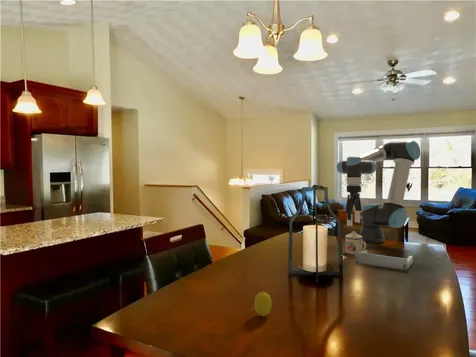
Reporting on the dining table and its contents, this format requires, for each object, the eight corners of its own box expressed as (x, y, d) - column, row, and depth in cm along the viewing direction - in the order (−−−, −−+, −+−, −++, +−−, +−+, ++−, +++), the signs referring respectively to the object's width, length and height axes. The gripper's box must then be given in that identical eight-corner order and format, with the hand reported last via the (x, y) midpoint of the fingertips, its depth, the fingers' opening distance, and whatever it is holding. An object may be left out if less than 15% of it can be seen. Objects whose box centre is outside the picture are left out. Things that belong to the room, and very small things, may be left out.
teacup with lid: (341, 252, 188) (341, 231, 188) (351, 249, 193) (351, 229, 193) (360, 256, 178) (360, 234, 178) (370, 254, 183) (370, 232, 183)
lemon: (260, 311, 112) (260, 287, 112) (275, 315, 109) (274, 291, 109) (250, 317, 108) (250, 292, 108) (265, 322, 105) (264, 296, 104)
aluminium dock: (364, 255, 181) (364, 246, 180) (412, 262, 167) (412, 252, 167) (355, 262, 168) (355, 252, 167) (406, 270, 154) (406, 259, 154)
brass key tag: (338, 257, 178) (338, 255, 178) (346, 257, 177) (346, 255, 177) (338, 260, 171) (338, 258, 171) (347, 261, 170) (347, 259, 170)
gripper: (353, 184, 198) (353, 220, 199) (339, 185, 178) (338, 226, 178) (367, 184, 193) (367, 221, 194) (353, 186, 173) (353, 228, 174)
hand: (353, 224), depth 186 cm, fingers open, 13 cm apart
